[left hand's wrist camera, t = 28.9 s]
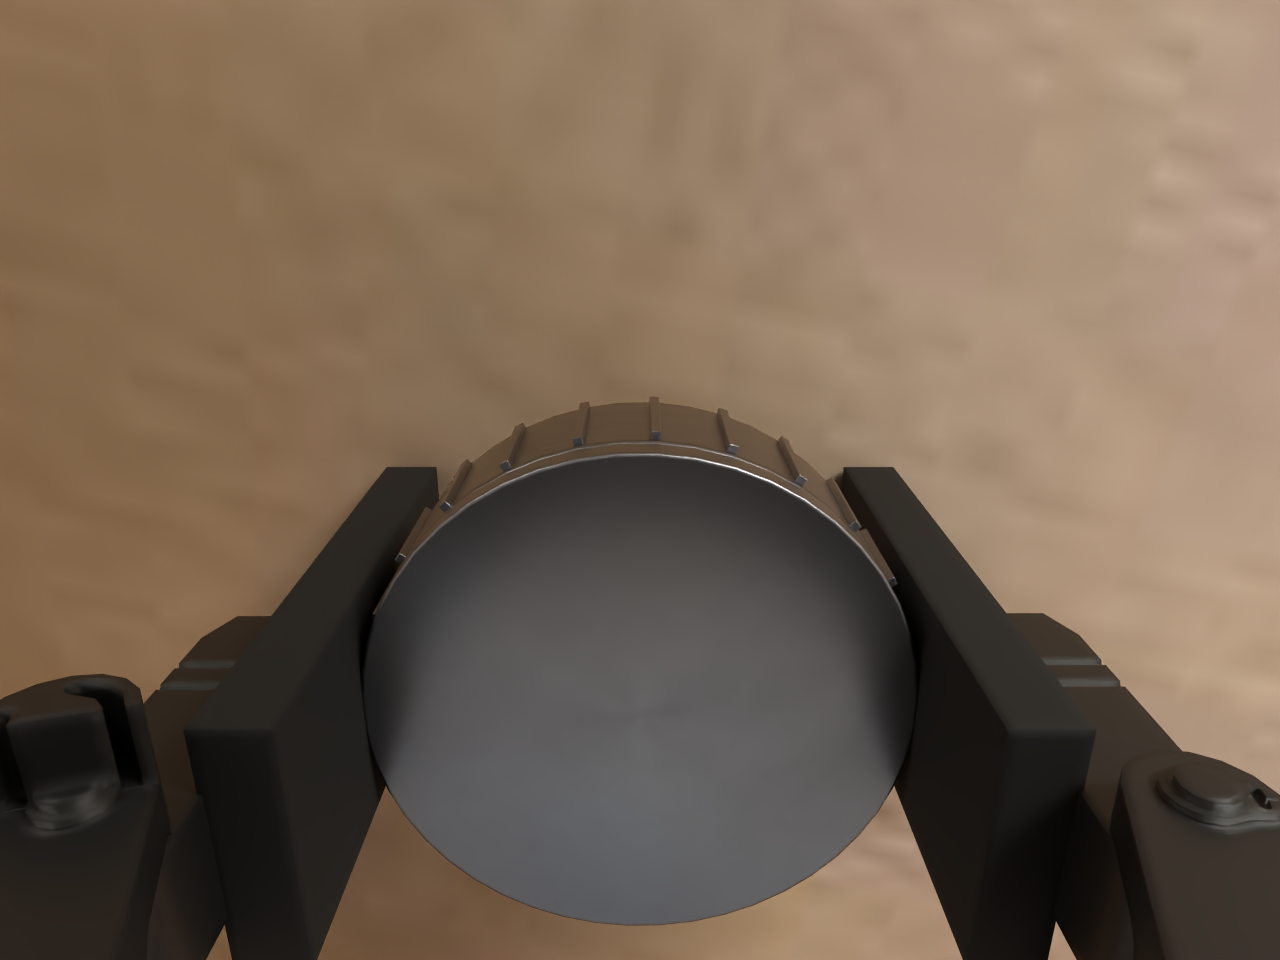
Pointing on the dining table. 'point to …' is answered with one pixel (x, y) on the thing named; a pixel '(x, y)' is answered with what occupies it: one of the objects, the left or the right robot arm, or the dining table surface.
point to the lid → (640, 668)
